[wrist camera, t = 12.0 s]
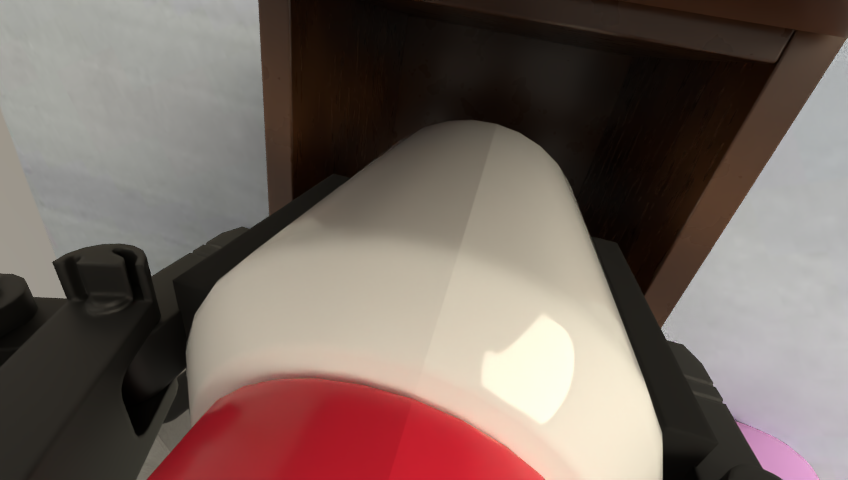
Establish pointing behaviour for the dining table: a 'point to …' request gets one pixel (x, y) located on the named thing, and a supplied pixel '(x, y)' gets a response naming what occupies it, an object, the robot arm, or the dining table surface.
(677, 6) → the lid
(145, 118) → the dining table surface
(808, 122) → the dining table surface
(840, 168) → the dining table surface
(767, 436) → the teapot
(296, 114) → the chest
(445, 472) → the pill bottle
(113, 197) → the dining table surface
